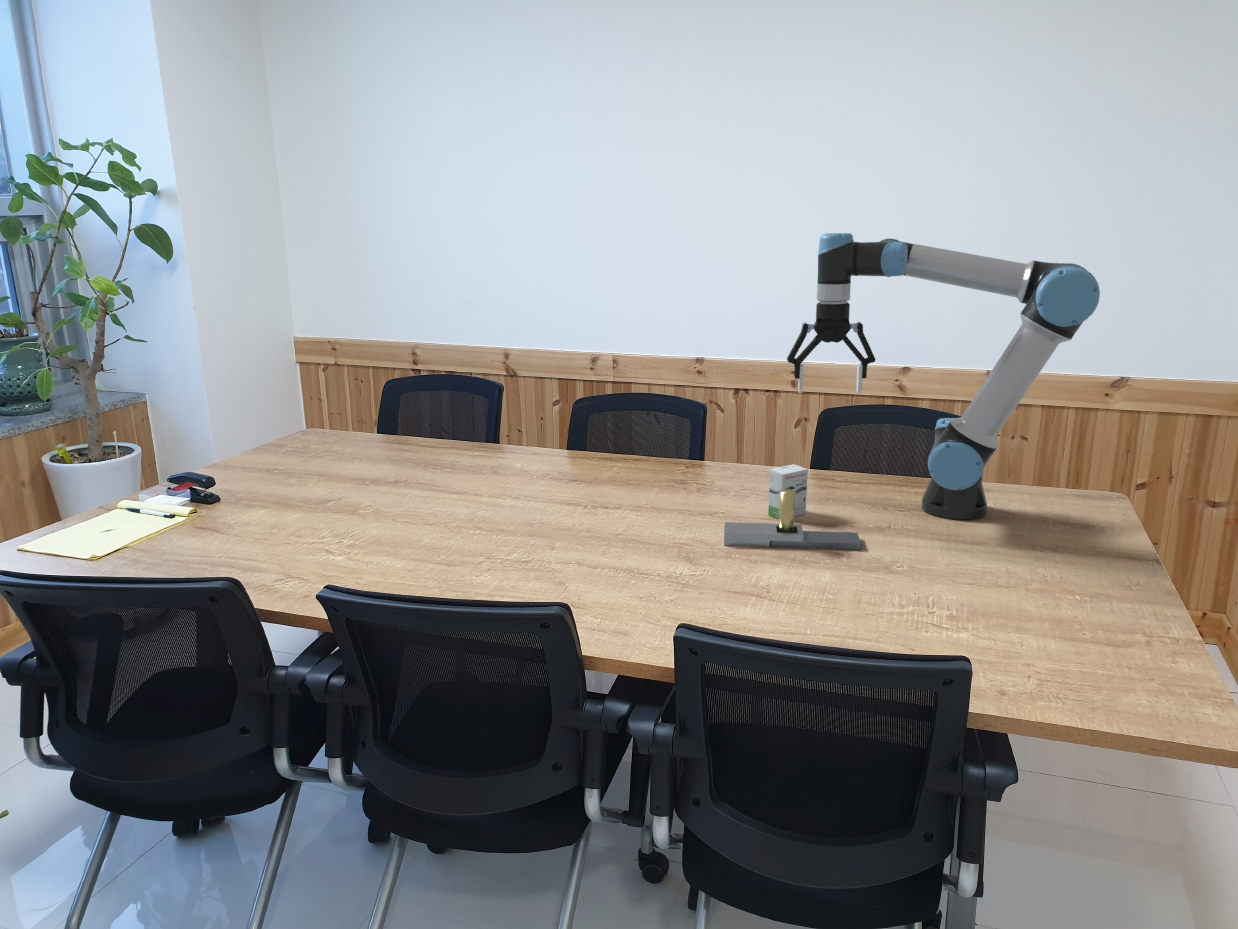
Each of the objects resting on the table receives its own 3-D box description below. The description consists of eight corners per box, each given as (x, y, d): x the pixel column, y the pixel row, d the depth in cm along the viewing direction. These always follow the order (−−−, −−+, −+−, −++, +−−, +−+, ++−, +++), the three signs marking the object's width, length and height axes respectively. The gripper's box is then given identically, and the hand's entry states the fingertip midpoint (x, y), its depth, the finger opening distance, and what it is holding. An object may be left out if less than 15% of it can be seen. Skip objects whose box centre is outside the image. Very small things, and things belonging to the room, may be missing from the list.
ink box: (781, 520, 219) (782, 473, 216) (767, 515, 223) (768, 469, 220) (807, 513, 224) (809, 467, 221) (792, 508, 228) (794, 463, 225)
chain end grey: (801, 536, 209) (801, 524, 208) (803, 548, 202) (803, 535, 201) (724, 534, 211) (724, 522, 210) (723, 545, 204) (724, 532, 203)
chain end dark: (856, 538, 207) (857, 532, 207) (860, 550, 200) (861, 543, 200) (770, 535, 210) (770, 529, 209) (771, 546, 203) (771, 540, 203)
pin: (793, 539, 207) (795, 489, 204) (793, 545, 204) (795, 494, 201) (777, 539, 208) (779, 489, 204) (778, 544, 204) (780, 493, 201)
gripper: (885, 299, 213) (880, 388, 218) (777, 300, 215) (775, 388, 221) (891, 302, 205) (885, 395, 211) (779, 304, 208) (777, 395, 214)
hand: (829, 392), depth 216 cm, fingers open, 13 cm apart
